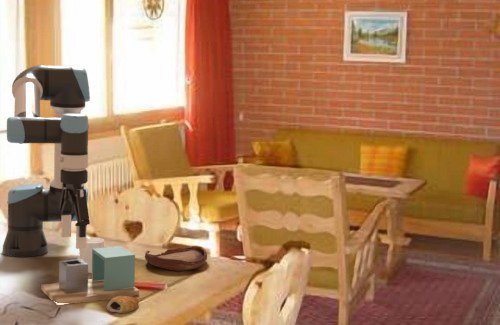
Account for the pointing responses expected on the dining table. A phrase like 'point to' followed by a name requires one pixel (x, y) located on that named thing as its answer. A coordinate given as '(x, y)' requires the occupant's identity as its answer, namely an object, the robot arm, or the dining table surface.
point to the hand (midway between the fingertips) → (73, 242)
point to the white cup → (90, 250)
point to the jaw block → (73, 276)
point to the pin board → (86, 293)
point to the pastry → (122, 304)
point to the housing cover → (113, 267)
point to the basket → (179, 258)
